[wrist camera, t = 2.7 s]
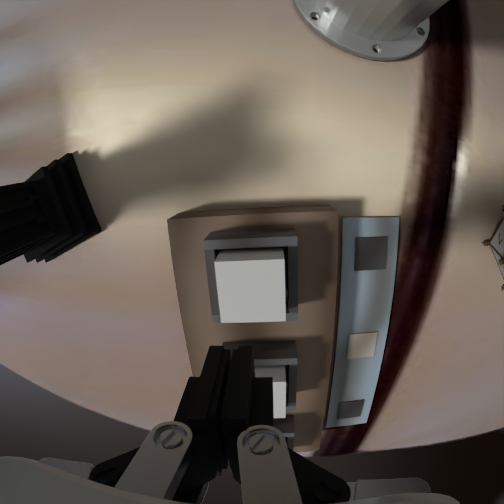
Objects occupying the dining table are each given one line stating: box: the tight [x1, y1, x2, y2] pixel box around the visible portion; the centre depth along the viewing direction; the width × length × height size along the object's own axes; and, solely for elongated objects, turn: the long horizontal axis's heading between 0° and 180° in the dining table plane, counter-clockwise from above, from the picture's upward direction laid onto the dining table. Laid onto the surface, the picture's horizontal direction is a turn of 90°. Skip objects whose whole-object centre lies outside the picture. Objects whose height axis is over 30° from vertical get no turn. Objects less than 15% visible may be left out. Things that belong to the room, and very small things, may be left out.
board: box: [167, 205, 399, 452], centre depth 24 cm, size 18×26×5 cm
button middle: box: [254, 365, 286, 418], centre depth 21 cm, size 4×4×2 cm
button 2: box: [214, 248, 286, 323], centre depth 19 cm, size 4×4×2 cm
